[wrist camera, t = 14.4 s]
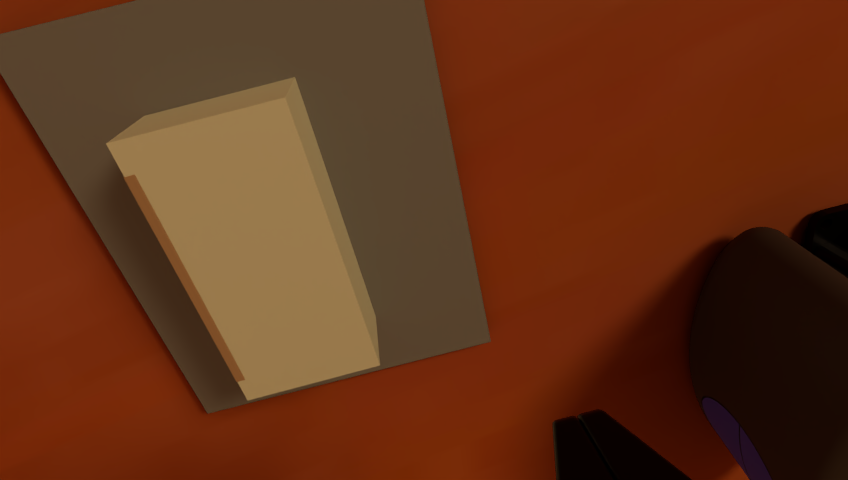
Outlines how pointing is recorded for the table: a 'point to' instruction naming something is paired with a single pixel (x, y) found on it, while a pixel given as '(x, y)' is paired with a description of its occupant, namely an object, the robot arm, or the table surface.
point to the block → (254, 235)
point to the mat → (333, 128)
